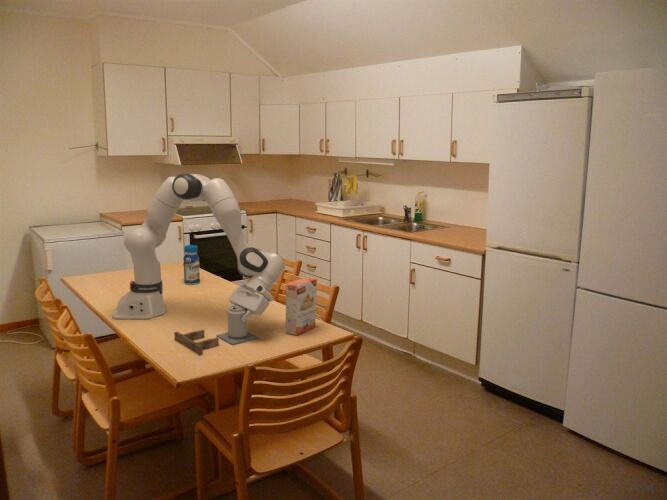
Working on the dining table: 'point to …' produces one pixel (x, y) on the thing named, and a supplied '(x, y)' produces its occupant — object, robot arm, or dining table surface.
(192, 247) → the beverage bottle
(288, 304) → the cracker box
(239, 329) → the can
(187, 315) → the dining table surface
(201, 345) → the walnut cradle
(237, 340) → the slate mat
